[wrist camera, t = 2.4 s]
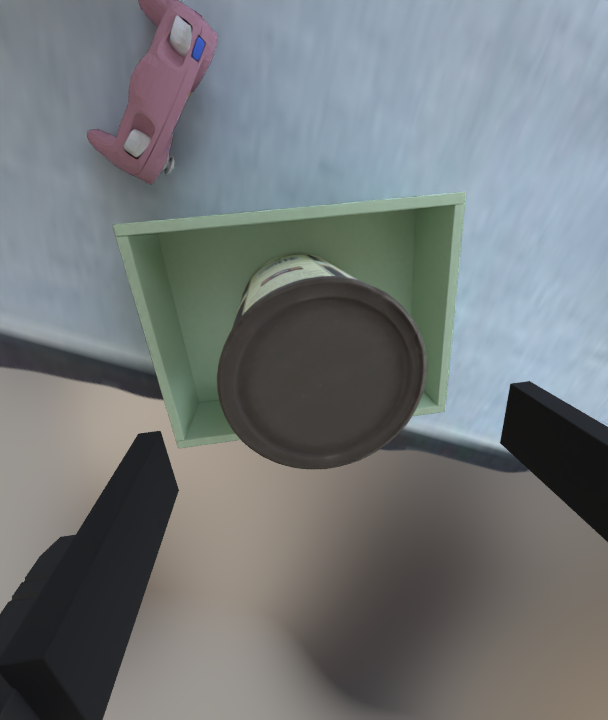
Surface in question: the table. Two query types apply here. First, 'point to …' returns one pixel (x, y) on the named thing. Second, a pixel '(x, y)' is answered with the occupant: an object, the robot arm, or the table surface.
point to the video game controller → (159, 90)
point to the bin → (262, 243)
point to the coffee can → (318, 365)
